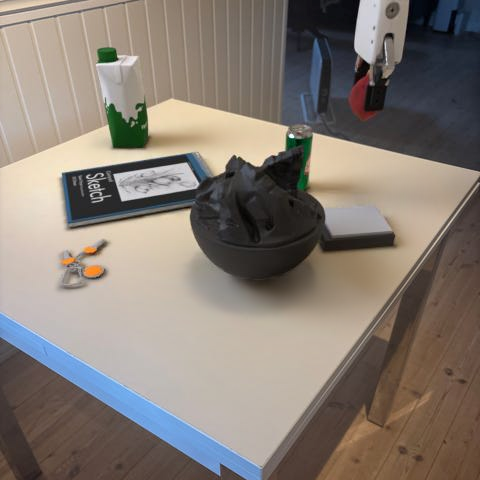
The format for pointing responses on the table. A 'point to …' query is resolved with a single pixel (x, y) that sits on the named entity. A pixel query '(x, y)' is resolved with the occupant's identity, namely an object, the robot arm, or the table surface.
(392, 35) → the robot arm
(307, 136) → the soda can
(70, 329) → the table surface
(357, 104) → the onion
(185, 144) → the table surface
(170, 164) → the sketchbook
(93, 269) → the key chain
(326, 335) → the table surface
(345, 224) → the scale
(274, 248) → the coal bowl
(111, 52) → the milk carton
